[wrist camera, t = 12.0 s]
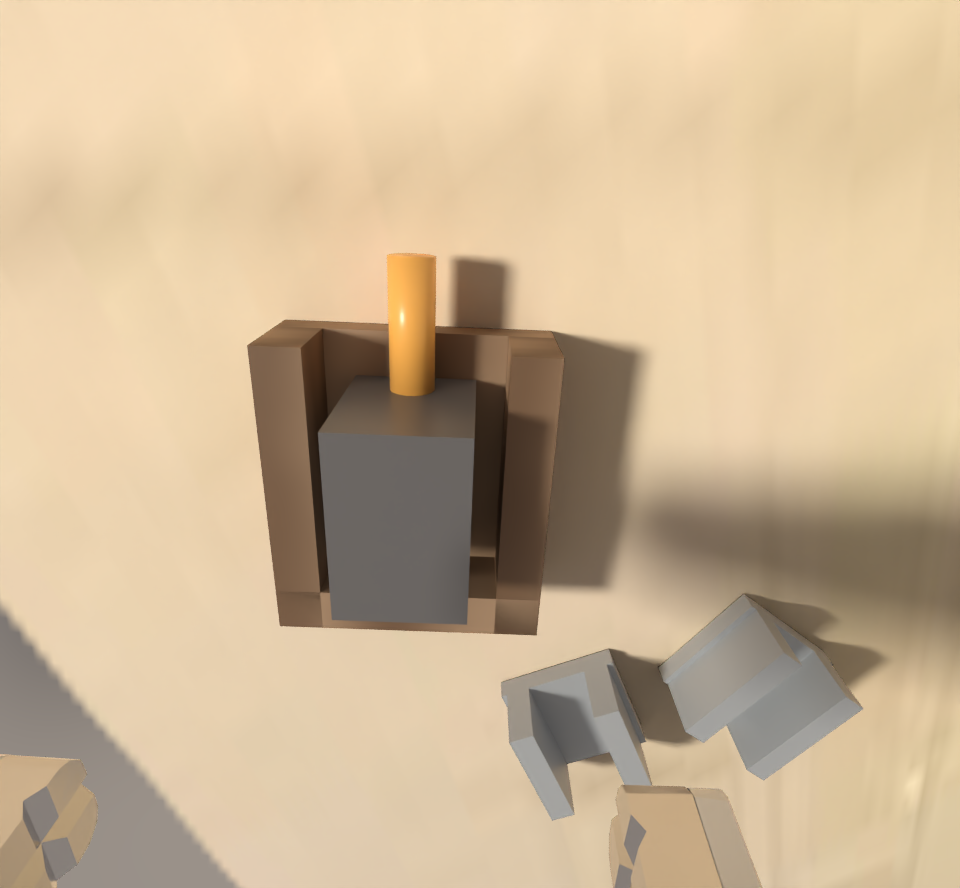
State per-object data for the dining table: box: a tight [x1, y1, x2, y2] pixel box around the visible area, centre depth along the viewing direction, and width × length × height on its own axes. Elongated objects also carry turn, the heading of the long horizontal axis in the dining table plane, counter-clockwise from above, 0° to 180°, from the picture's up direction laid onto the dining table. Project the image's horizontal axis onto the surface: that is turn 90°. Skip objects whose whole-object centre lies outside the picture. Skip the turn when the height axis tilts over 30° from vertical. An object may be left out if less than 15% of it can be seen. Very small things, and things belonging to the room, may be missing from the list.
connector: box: [318, 253, 476, 625], centre depth 18 cm, size 4×10×5 cm, turn 178°
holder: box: [247, 320, 564, 635], centre depth 20 cm, size 9×10×4 cm
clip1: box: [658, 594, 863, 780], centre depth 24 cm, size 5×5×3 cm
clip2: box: [501, 649, 653, 821], centre depth 25 cm, size 5×5×3 cm
